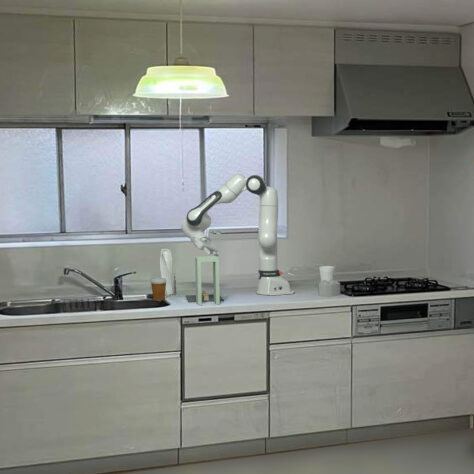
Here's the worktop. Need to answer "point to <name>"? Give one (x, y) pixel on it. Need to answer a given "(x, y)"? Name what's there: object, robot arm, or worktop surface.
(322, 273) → the foam cup
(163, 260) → the skyscraper
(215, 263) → the bridge
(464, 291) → the worktop surface
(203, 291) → the bar
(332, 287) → the lumpy-topped squat cylinder
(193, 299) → the mat
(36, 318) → the worktop surface
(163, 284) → the disposable coffee cup
